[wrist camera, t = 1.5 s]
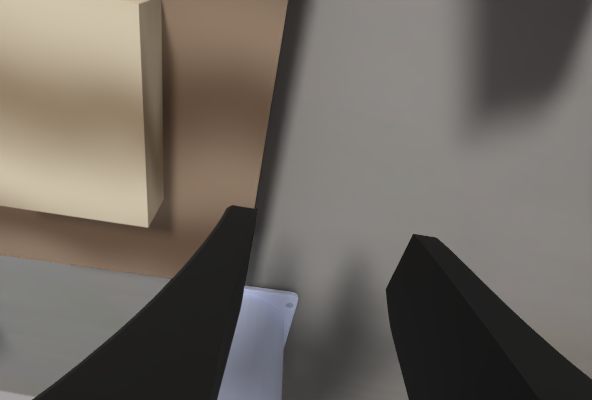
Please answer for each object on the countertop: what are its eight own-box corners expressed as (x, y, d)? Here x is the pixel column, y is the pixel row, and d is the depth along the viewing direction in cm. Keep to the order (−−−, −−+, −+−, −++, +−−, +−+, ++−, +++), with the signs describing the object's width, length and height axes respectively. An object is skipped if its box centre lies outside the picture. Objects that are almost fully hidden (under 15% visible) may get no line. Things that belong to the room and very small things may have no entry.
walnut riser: (249, 238, 22) (241, 287, 19) (46, 207, 21) (0, 255, 18) (313, -151, 12) (319, -189, 9) (-65, -254, 11) (-216, -342, 8)
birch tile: (163, 199, 16) (148, 227, 14) (19, 176, 15) (-14, 203, 14) (161, -4, 12) (138, 3, 10) (-42, -48, 11) (-103, -48, 9)
